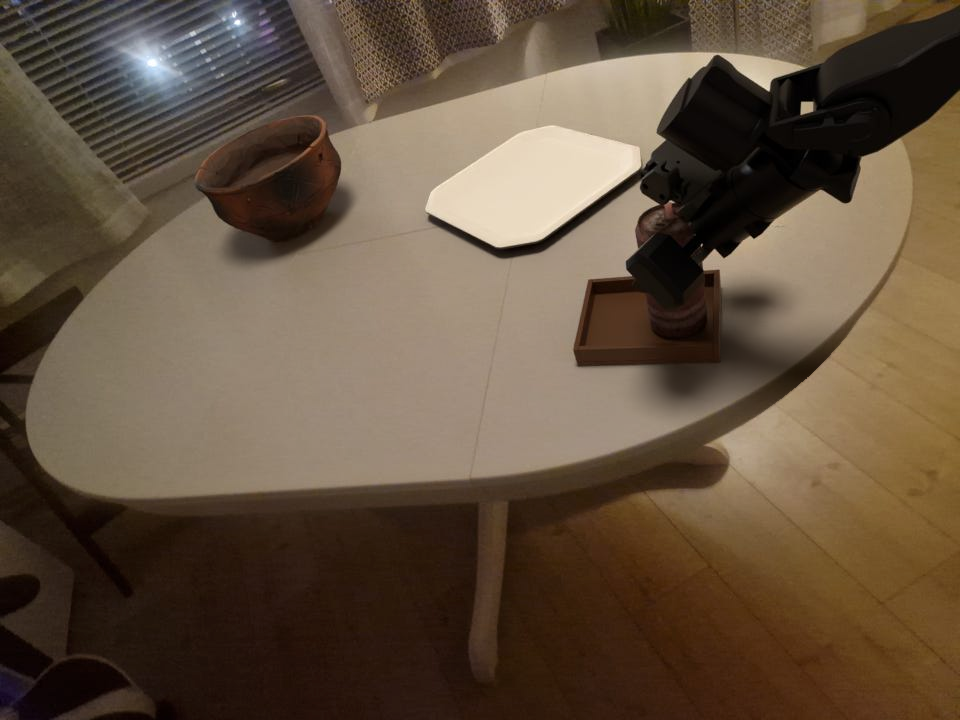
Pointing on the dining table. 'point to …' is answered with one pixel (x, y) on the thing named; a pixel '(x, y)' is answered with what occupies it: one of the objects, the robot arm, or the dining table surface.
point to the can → (666, 221)
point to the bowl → (273, 178)
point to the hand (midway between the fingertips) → (661, 261)
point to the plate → (532, 185)
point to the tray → (640, 327)
